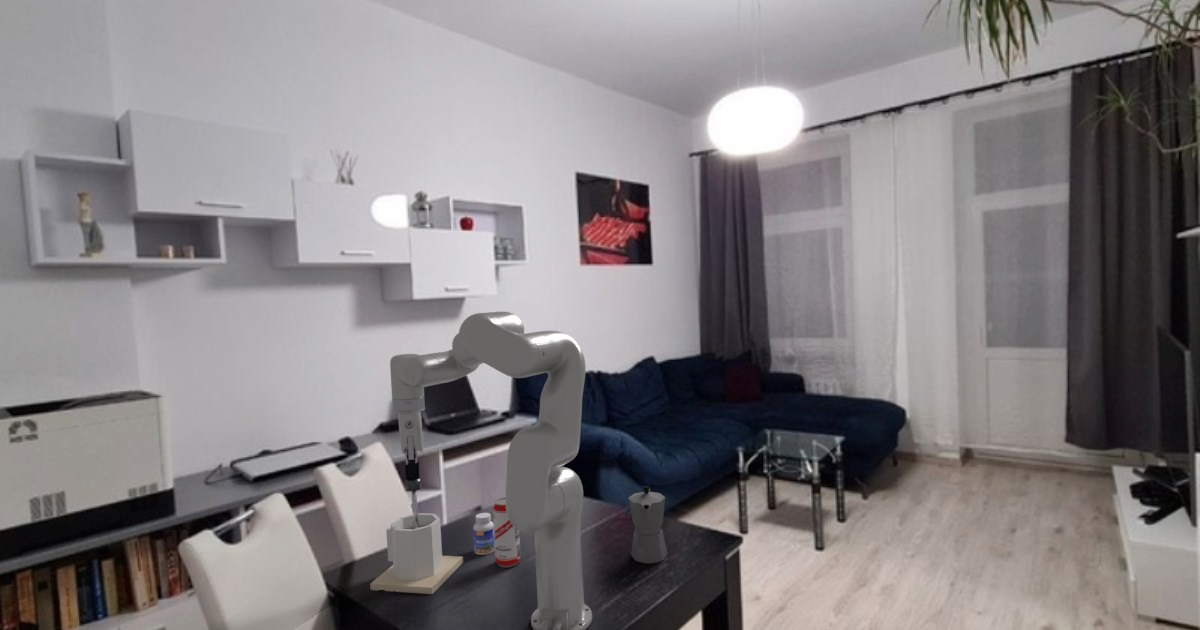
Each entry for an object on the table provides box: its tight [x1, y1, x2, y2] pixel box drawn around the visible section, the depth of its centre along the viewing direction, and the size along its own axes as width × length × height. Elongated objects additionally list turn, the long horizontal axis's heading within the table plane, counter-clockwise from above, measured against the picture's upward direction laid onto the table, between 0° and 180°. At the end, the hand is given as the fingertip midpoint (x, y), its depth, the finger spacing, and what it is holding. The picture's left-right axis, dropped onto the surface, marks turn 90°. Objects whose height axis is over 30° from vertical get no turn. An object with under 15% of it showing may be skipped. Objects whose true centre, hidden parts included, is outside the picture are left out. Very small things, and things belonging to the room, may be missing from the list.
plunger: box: [404, 476, 424, 529], centre depth 143 cm, size 8×8×14 cm
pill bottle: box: [473, 512, 495, 556], centre depth 156 cm, size 5×5×10 cm
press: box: [369, 512, 464, 595], centre depth 143 cm, size 16×16×14 cm
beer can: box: [492, 497, 522, 568], centre depth 148 cm, size 6×6×16 cm
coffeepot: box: [627, 485, 668, 564], centre depth 149 cm, size 15×9×18 cm, turn 174°
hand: (412, 478), depth 143 cm, fingers closed
